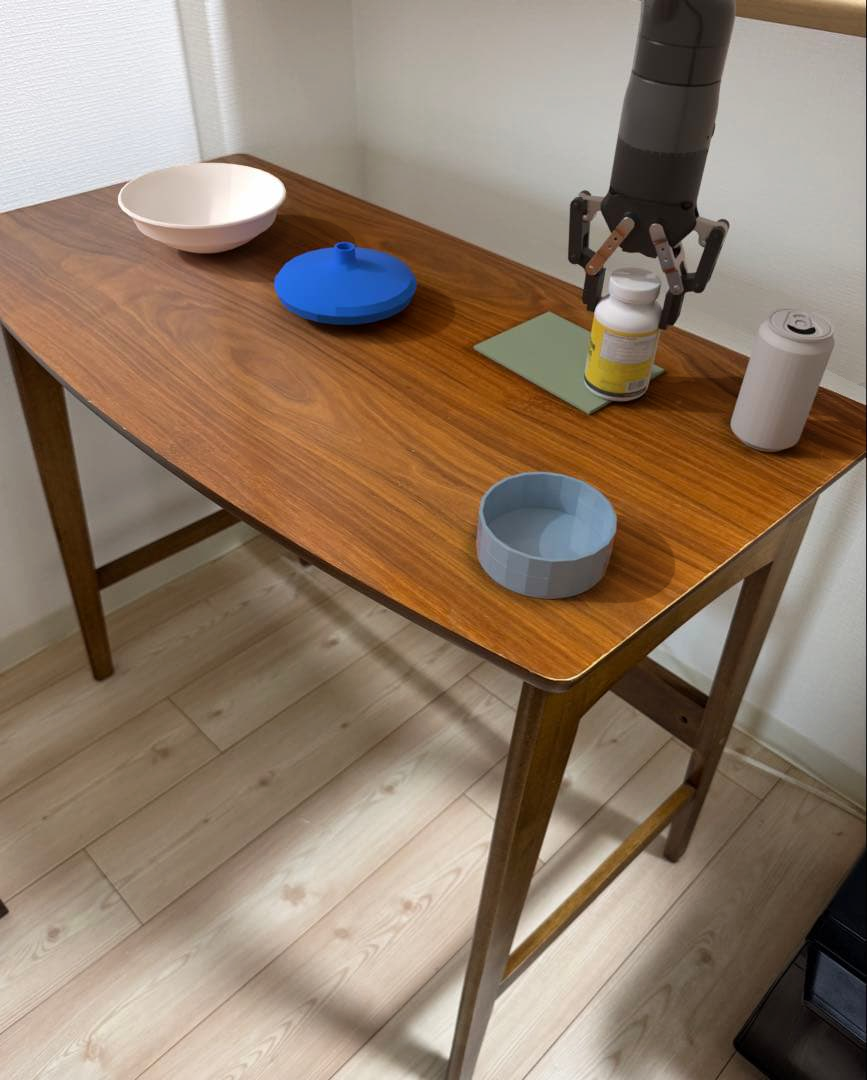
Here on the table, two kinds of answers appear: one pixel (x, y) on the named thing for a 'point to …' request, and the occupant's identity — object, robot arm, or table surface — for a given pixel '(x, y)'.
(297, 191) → the table surface
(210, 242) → the bowl
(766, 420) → the beverage can
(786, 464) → the table surface
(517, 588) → the grey-blue round dish
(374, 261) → the vase
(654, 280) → the pill bottle
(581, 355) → the mat
